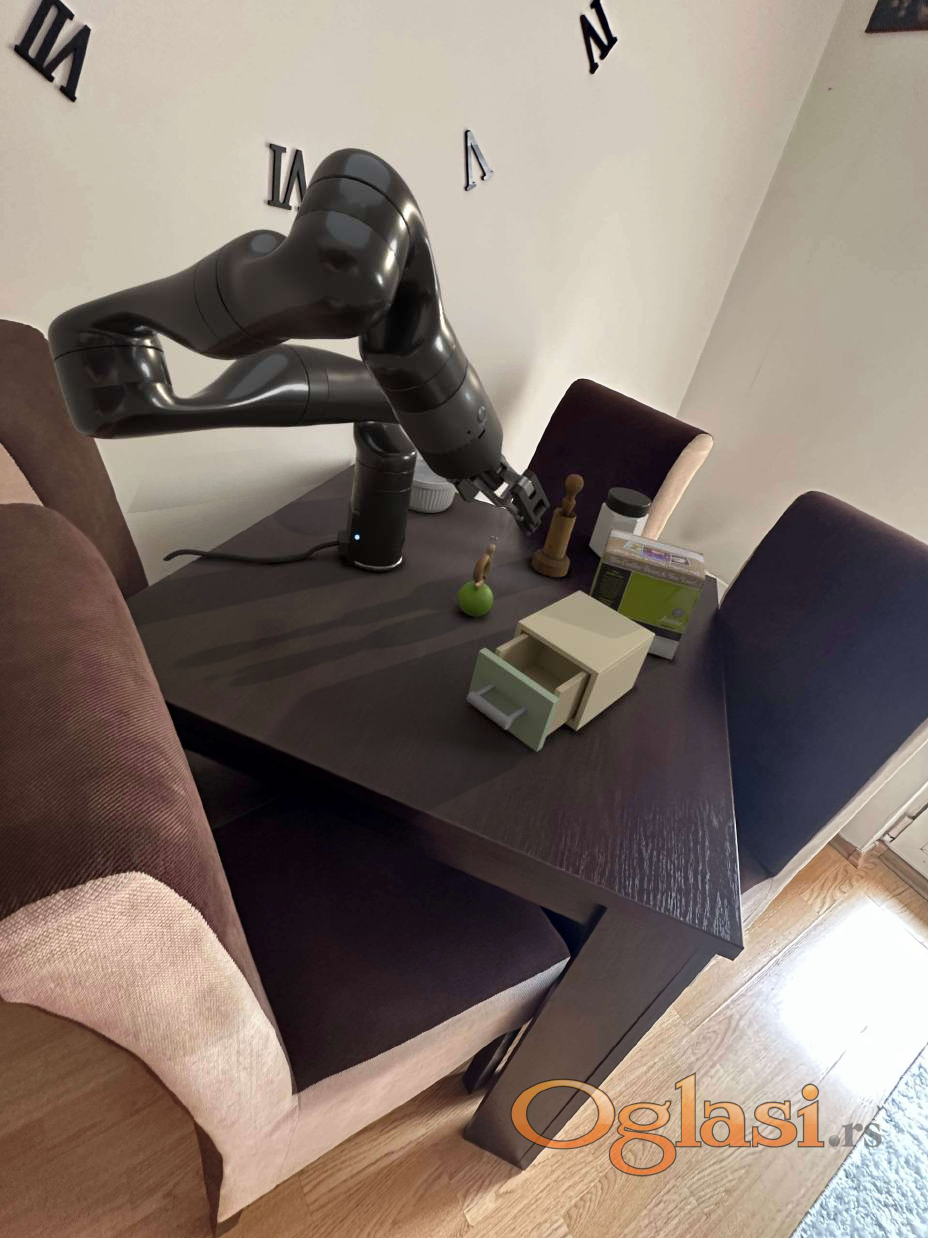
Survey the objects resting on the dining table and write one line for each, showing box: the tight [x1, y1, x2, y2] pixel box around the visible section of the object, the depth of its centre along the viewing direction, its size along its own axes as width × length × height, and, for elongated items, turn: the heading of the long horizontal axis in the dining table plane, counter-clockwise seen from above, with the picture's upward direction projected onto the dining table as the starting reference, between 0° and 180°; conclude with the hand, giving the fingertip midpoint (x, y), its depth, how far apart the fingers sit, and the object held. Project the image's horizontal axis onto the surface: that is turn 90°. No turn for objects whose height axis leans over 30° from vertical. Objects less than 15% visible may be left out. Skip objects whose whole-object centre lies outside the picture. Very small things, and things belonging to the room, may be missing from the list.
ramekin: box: [409, 456, 457, 514], centre depth 130 cm, size 13×13×7 cm
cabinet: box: [513, 590, 655, 732], centre depth 88 cm, size 15×13×10 cm
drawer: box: [465, 632, 592, 753], centre depth 81 cm, size 18×11×8 cm, turn 138°
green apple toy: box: [457, 535, 499, 617], centre depth 98 cm, size 5×6×12 cm
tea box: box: [588, 528, 707, 660], centre depth 101 cm, size 15×10×15 cm
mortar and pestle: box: [531, 473, 585, 578], centre depth 113 cm, size 7×6×18 cm
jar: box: [588, 487, 652, 558], centre depth 126 cm, size 9×8×12 cm
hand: (501, 511), depth 69 cm, fingers open, 8 cm apart
